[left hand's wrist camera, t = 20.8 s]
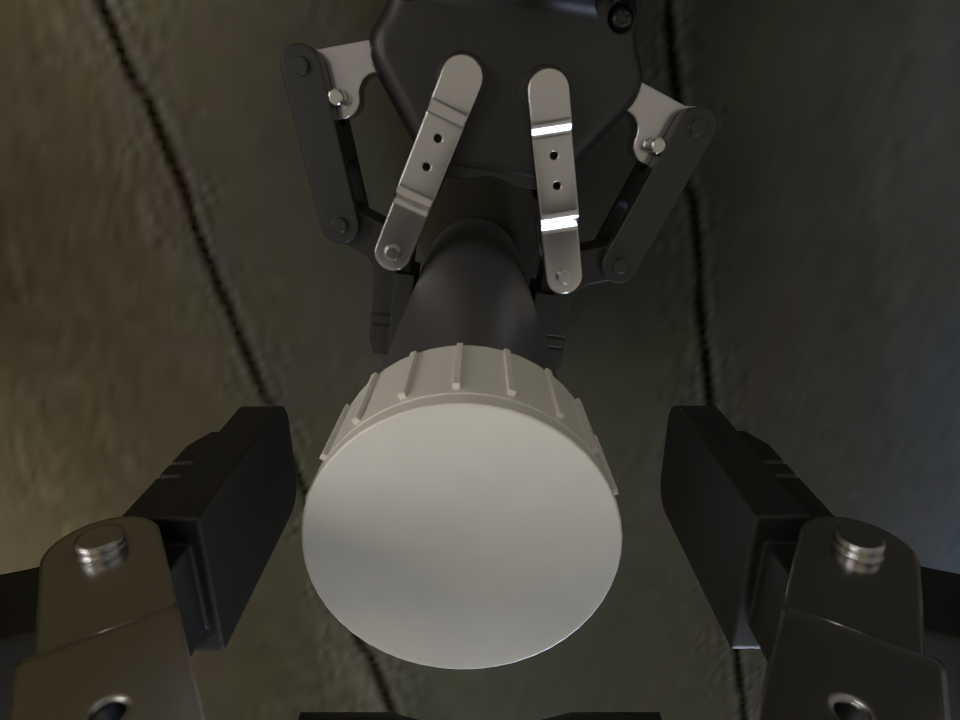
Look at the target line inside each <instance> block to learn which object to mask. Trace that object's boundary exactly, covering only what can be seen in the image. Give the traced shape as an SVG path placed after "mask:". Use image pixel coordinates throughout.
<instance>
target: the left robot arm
mask: <svg viewBox="0 0 960 720" xmlns="http://www.w3.org/2000/svg"><path fill="white" fill-rule="evenodd" d="M661 497H662V503H663V507H664V510H665V513H666V515H667V517H668V519H669V521H670V523H671V525H672V527H673V529H674V531H675V533H676V535H677V538H678V540H679V542H680V544H681V546H682V548H683V550H684V552H685V554H686V556H687V558H688V560H689V562H690V564H691V566H692V568H693V570H694V573H695V575H696V577H697V579H698V581H699V583H700V585H701V587H702V589H703V591H704V593H705V595H706V597H707V599H708V601H709V603H710V606H711V608H712V610H713V612H714V614H715V616H716V618H717V620H718V622H719V624H720V626H721V628H722V630H723V632H724V634H725V636H726V639H727V641H728V643H729V645H730V647H731V649H761V650H762V652H763V654H764V656H765V657H766V659H767V661H768V665H767V670H766V674H765V678H764V682H763V686H762V691H761V695H760V699H759V703H758V707H757V712H756V716H755V720H960V574H956V573H950V572H945V571H940V570H935V569H930V568H925V567H921V566H920V562H919V559H918V558H917V556H916V554H915V553H914V552H913V551H912V549H911V548H910V547H908V546H907V545H906V544H905V543H904V542H903V541H901V540H900V539H898V538H897V537H895V536H894V535H892V534H890V533H889V532H887V531H885V530H883V529H881V528H878V527H876V526H873V525H871V524H868V523H865V522H862V521H858V520H854V519H850V518H844V517H834V516H833V515H832V513H831V512H830V511H829V510H828V509H827V508H826V507H825V506H824V505H823V504H822V503H821V501H820V500H819V499H818V498H817V497H816V496H815V495H814V494H813V493H812V492H811V491H810V489H809V488H808V487H807V486H806V485H805V484H804V483H803V482H802V481H801V480H800V479H799V478H796V474H795V473H794V472H793V471H792V470H791V469H790V468H789V467H788V465H787V464H783V460H782V459H781V458H780V457H779V456H778V455H777V453H776V452H775V451H774V450H773V449H772V448H771V447H770V446H769V445H768V444H766V443H764V442H763V441H761V440H759V439H758V438H756V437H754V436H752V435H751V434H749V433H747V432H745V431H737V430H736V429H735V428H734V427H733V426H732V424H731V423H730V422H729V421H728V420H727V419H726V417H725V416H724V415H723V414H722V413H721V412H720V410H719V409H718V408H717V407H716V406H673V407H672V409H671V411H670V413H669V418H668V425H667V433H666V441H665V449H664V457H663V465H662V473H661ZM295 498H296V475H295V467H294V459H293V451H292V443H291V435H290V427H289V420H288V415H287V412H286V410H285V408H284V407H241V408H239V409H238V411H237V412H236V413H235V414H234V415H233V416H232V417H231V419H230V420H229V421H228V422H227V423H226V424H225V426H224V427H223V428H222V429H221V430H220V431H219V432H211V433H209V434H207V435H206V436H204V437H202V438H200V439H199V440H197V441H195V442H193V443H192V444H190V445H188V446H187V447H186V448H185V449H184V450H183V451H182V452H181V453H180V455H179V456H178V457H177V458H176V459H175V460H174V461H173V465H169V466H168V467H167V469H166V470H165V471H164V472H163V473H162V474H161V475H160V479H156V480H155V481H154V483H153V484H152V485H151V486H150V487H149V488H148V489H147V490H146V491H145V492H144V493H143V494H142V495H141V497H140V498H139V499H138V500H137V501H136V502H135V503H134V504H133V505H132V506H131V507H130V508H129V510H128V511H127V512H126V513H125V514H124V515H123V516H122V517H116V518H110V519H106V520H102V521H98V522H95V523H92V524H89V525H87V526H84V527H82V528H79V529H77V530H75V531H73V532H71V533H70V534H68V535H66V536H65V537H63V538H62V539H60V540H59V541H57V542H56V543H55V544H54V545H53V546H52V547H50V548H49V549H48V551H47V552H46V553H45V554H44V556H43V558H42V559H41V562H40V566H39V567H37V568H32V569H28V570H23V571H18V572H13V573H8V574H3V575H0V720H205V716H204V712H203V707H202V703H201V699H200V695H199V691H198V686H197V682H196V678H195V674H194V670H193V665H192V661H191V656H192V654H193V652H194V650H225V648H226V646H227V644H228V641H229V639H230V637H231V635H232V633H233V631H234V629H235V627H236V625H237V623H238V621H239V619H240V617H241V615H242V613H243V611H244V609H245V607H246V605H247V603H248V601H249V599H250V597H251V595H252V593H253V591H254V589H255V587H256V585H257V583H258V581H259V578H260V576H261V574H262V572H263V570H264V568H265V566H266V564H267V562H268V560H269V558H270V556H271V554H272V552H273V550H274V548H275V546H276V544H277V542H278V540H279V538H280V536H281V534H282V532H283V530H284V528H285V526H286V524H287V522H288V520H289V518H290V515H291V513H292V511H293V508H294V504H295ZM298 720H417V719H413V718H409V717H405V716H401V715H397V714H393V713H389V712H301V713H300V716H299V719H298ZM543 720H662V719H661V716H660V713H659V712H571V713H567V714H563V715H559V716H555V717H551V718H547V719H543Z"/></svg>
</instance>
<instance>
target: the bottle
mask: <svg viewBox="0 0 960 720" xmlns="http://www.w3.org/2000/svg"><path fill="white" fill-rule="evenodd" d="M457 343H463V345H472V346H483V347H490V348H494V349H499V350H503V351H504V348H505V349H509V350H510V352H511V353H512V354H515V355H518V356H521V357H523V358H525V359H527V360H529V361H531V362H533V363H535V364H537V365H538V366H540V367H541V368H543V369H544V370H545V369H546V368H548V369H550V370H551V371H552V374H553V376H554V377H555V378H556V379H557V380H558V377H557V374H556V371H555V368H554V365H553V361H552V358H551V355H550V352H549V349H548V346H547V343H546V340H545V336H544V333H543V330H542V327H541V324H540V321H539V318H538V314H537V311H536V308H535V305H534V302H533V299H532V296H531V292H530V289H529V286H528V283H527V280H526V277H525V274H524V270H523V267H522V264H521V261H520V258H519V255H518V252H517V249H516V246H515V244H514V242H513V240H512V239H511V237H510V236H509V234H508V233H507V232H506V231H505V230H504V229H502V228H501V227H500V226H498V225H497V224H495V223H493V222H491V221H488V220H485V219H479V218H468V219H462V220H459V221H456V222H454V223H452V224H450V225H449V226H447V227H446V228H445V229H443V230H442V231H441V232H440V233H439V235H438V236H437V237H436V239H435V240H434V242H433V244H432V247H431V249H430V251H429V254H428V256H427V259H426V261H425V263H424V266H423V268H422V271H421V273H420V276H419V278H418V280H417V283H416V285H415V288H414V290H413V293H412V295H411V297H410V300H409V302H408V305H407V307H406V309H405V312H404V314H403V317H402V319H401V322H400V324H399V326H398V329H397V331H396V334H395V336H394V338H393V341H392V343H391V346H390V348H389V351H388V353H387V355H386V358H385V360H384V363H383V365H382V368H381V370H380V372H379V373H381V372H382V371H383V370H384V369H386V368H388V367H389V366H391V365H393V364H394V363H396V362H398V361H399V360H402V359H404V358H406V357H409V355H410V353H411V352H413V351H416V352H417V353H419V352H422V351H426V350H429V349H433V348H439V347H446V346H456V345H457ZM558 381H559V380H558Z"/></svg>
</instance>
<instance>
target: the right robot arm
mask: <svg viewBox="0 0 960 720" xmlns="http://www.w3.org/2000/svg"><path fill="white" fill-rule="evenodd" d="M641 1H642V0H387V2H386V5H385V7H384V9H383V11H382V13H381V15H380V17H379V18H378V20H377V21H376V23H375V24H374V26H373V28H372V31H371V34H370V38H369V40H365V41H360V42H355V43H350V44H344V45H339V46H334V47H328V48H323V49H314V48H312V47H310V46H308V45H305V44H302V43H295V44H292V45H290V46H288V47H287V48H286V49H285V50H284V52H283V54H282V56H281V61H280V66H281V71H282V75H283V79H284V83H285V86H286V90H287V94H288V98H289V102H290V106H291V110H292V114H293V118H294V122H295V125H296V129H297V133H298V137H299V141H300V145H301V149H302V153H303V157H304V161H305V164H306V168H307V172H308V176H309V180H310V184H311V188H312V192H313V196H314V200H315V203H316V207H317V211H318V215H319V219H320V223H321V227H322V230H323V232H324V234H325V236H326V237H327V238H328V239H329V240H331V241H332V242H334V243H338V244H347V245H348V246H350V247H352V248H354V249H356V250H358V251H360V252H362V253H364V254H365V255H366V256H367V257H368V258H369V259H370V260H371V262H372V264H373V266H374V270H375V279H374V292H373V304H372V317H371V329H370V341H371V344H372V347H373V351H374V353H380V354H387V353H388V351H389V348H390V346H391V343H392V341H393V338H394V336H395V334H396V331H397V329H398V326H399V324H400V322H401V319H402V317H403V314H404V312H405V309H406V307H407V305H408V302H409V300H410V297H411V295H412V293H413V290H414V288H415V285H416V283H417V280H418V278H419V271H420V262H415V254H416V247H417V245H418V243H419V240H420V238H421V235H422V233H423V231H424V228H425V226H426V223H427V221H428V219H429V216H430V214H431V211H432V209H433V206H434V204H435V202H436V200H437V197H438V195H439V193H440V190H441V188H442V185H443V183H444V181H445V178H446V177H452V178H459V179H474V178H482V177H494V178H496V179H499V180H501V181H503V182H505V183H508V184H510V185H512V186H514V187H521V188H528V189H530V192H531V201H532V209H533V214H534V220H535V228H536V237H537V245H538V254H539V268H538V274H537V279H533V278H530V284H529V289H530V292H531V296H532V299H533V302H534V305H535V308H536V311H537V314H538V318H539V321H540V324H541V327H542V330H543V333H544V336H545V340H546V343H547V346H548V349H549V352H550V355H551V358H552V361H553V365H554V368H555V371H556V370H557V368H558V367H559V365H560V362H561V357H562V352H563V347H564V342H565V337H566V332H567V327H568V322H569V317H570V312H571V307H572V302H573V299H574V297H575V295H576V294H577V292H578V291H579V290H580V289H582V288H583V287H585V286H587V285H590V284H595V283H600V282H604V281H611V282H614V283H623V282H626V281H628V280H630V279H631V278H632V277H633V276H634V275H635V273H636V271H637V270H638V268H639V266H640V264H641V263H642V261H643V259H644V258H645V256H646V254H647V252H648V251H649V249H650V247H651V245H652V244H653V242H654V240H655V238H656V237H657V235H658V233H659V231H660V230H661V228H662V226H663V224H664V223H665V221H666V219H667V217H668V216H669V214H670V212H671V210H672V209H673V207H674V205H675V203H676V202H677V200H678V198H679V196H680V195H681V193H682V191H683V190H684V188H685V186H686V184H687V183H688V181H689V179H690V177H691V176H692V174H693V172H694V170H695V169H696V167H697V165H698V163H699V162H700V160H701V158H702V156H703V155H704V153H705V151H706V149H707V148H708V146H709V144H710V142H711V141H712V139H713V137H714V135H715V133H716V130H717V119H716V117H715V115H714V113H713V112H712V111H711V110H710V109H708V108H706V107H701V106H700V107H694V106H690V107H687V106H684V105H682V104H680V103H679V102H677V101H675V100H673V99H671V98H670V97H668V96H666V95H664V94H662V93H660V92H659V91H657V90H655V89H653V88H651V87H649V86H648V85H646V84H644V83H642V68H641V64H640V60H639V57H638V53H637V47H636V27H637V21H638V16H639V11H640V6H641ZM376 75H377V76H378V78H379V79H380V81H381V83H382V85H383V87H384V89H385V91H386V92H387V94H388V96H389V98H390V100H391V102H392V104H393V106H394V107H395V109H396V111H397V113H398V115H399V117H400V119H401V120H402V122H403V124H404V126H405V128H406V130H407V132H408V133H409V135H410V137H411V139H412V141H413V143H414V145H413V147H412V150H411V152H410V155H409V158H408V160H407V163H406V165H405V168H404V170H403V173H402V176H401V178H400V181H399V183H398V186H397V189H396V192H395V197H394V200H393V202H392V205H391V208H390V210H389V213H388V215H387V217H386V216H384V215H382V214H380V213H378V212H376V211H374V210H372V209H370V208H369V205H368V201H367V196H366V192H365V187H364V183H363V179H362V174H361V170H360V165H359V161H358V156H357V152H356V148H355V143H354V139H353V134H352V130H351V126H350V121H349V119H353V118H355V117H357V116H358V115H359V114H360V113H361V112H362V110H363V108H364V103H365V99H364V90H365V87H366V84H367V83H368V81H369V80H370V79H371V78H373V77H374V76H376ZM624 114H625V115H626V116H627V117H628V118H629V121H630V124H631V134H630V137H629V140H628V144H627V149H628V153H629V155H630V157H631V158H632V159H633V160H634V161H636V164H635V166H634V167H633V169H632V171H631V173H630V175H629V177H628V179H627V180H626V182H625V184H624V186H623V188H622V190H621V192H620V193H619V195H618V197H617V199H616V201H615V203H614V205H613V206H612V208H611V210H610V212H609V214H608V216H607V218H606V219H605V221H604V223H603V225H602V227H601V229H600V231H599V232H598V234H597V236H596V238H595V240H592V241H587V242H583V243H579V235H578V220H579V210H578V198H577V187H576V176H575V164H576V163H577V162H578V161H579V160H580V159H581V158H582V157H583V156H584V155H585V154H586V153H587V152H588V151H589V150H590V149H591V148H592V147H593V146H594V145H595V144H596V143H597V142H598V141H599V139H600V138H601V137H602V136H603V135H604V134H605V133H606V132H607V131H608V130H609V129H610V128H611V127H612V126H613V125H614V124H615V123H616V122H617V121H618V120H619V119H620V118H621V117H622V116H623V115H624Z"/></svg>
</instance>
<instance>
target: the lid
mask: <svg viewBox="0 0 960 720" xmlns="http://www.w3.org/2000/svg"><path fill="white" fill-rule="evenodd" d="M319 459H321V460H323V461H322V463H321V465H320V468H319V470H318V472H317V474H316V476H315V478H314V480H313V482H312V484H311V486H310V489H309V491H308V493H307V495H306V498H305V502H306V504H305V507H304V512H303V519H302V525H301V543H302V549H303V555H304V561H305V565H306V568H307V571H308V574H309V577H310V579H311V581H312V583H313V585H314V587H315V589H316V591H317V593H318V595H319V596H320V598H321V599H322V601H323V602H324V604H325V605H326V607H327V608H328V609H329V610H330V611H331V613H332V614H333V615H334V616H335V617H336V618H337V619H338V620H339V621H340V622H341V623H342V624H343V625H344V626H345V627H346V628H348V629H349V630H350V631H351V632H352V633H353V634H355V635H356V636H358V637H359V638H361V639H362V640H364V641H365V642H367V643H368V644H370V645H372V646H374V647H376V648H378V649H379V650H381V651H383V652H385V653H388V654H390V655H393V656H395V657H398V658H400V659H403V660H407V661H410V662H414V663H417V664H421V665H427V666H432V667H438V668H450V669H479V668H487V667H495V666H500V665H504V664H509V663H513V662H517V661H520V660H523V659H525V658H528V657H531V656H534V655H536V654H538V653H540V652H542V651H545V650H547V649H549V648H551V647H552V646H554V645H556V644H557V643H559V642H561V641H562V640H564V639H565V638H567V637H568V636H569V635H571V634H572V633H573V632H574V631H576V630H577V629H578V628H579V627H580V626H581V625H582V624H583V623H584V622H585V621H586V620H587V619H588V618H589V617H590V616H591V615H592V614H593V613H594V612H595V610H596V609H597V608H598V606H599V605H600V604H601V602H602V601H603V599H604V598H605V596H606V594H607V592H608V591H609V589H610V587H611V585H612V582H613V580H614V577H615V574H616V572H617V569H618V565H619V560H620V556H621V549H622V525H621V516H620V513H619V509H618V505H617V501H616V498H615V495H618V490H617V487H616V484H615V482H614V479H613V476H612V474H611V471H610V469H609V466H608V464H607V461H606V458H605V456H604V453H603V451H602V448H601V445H600V443H599V440H598V438H597V435H594V434H593V431H592V428H591V426H590V423H589V420H588V418H587V415H586V413H585V410H584V407H583V405H582V402H581V400H580V399H579V398H577V399H574V397H573V396H572V395H571V394H570V393H569V391H568V390H567V389H566V388H565V387H564V386H563V385H562V384H561V383H560V382H559V381H558V380H557V379H556V378H555V377H554V376H553V374H552V371H551V370H550V369H548V368H546V369H545V370H544V369H543V368H541V367H540V366H538V365H537V364H535V363H533V362H531V361H529V360H527V359H525V358H523V357H521V356H518V355H515V354H512V353H511V352H510V350H509V349H505V348H504V351H503V350H499V349H494V348H490V347H483V346H472V345H463V343H457V345H456V346H446V347H439V348H433V349H429V350H426V351H422V352H419V353H417V352H416V351H413V352H411V353H410V355H409V357H406V358H404V359H402V360H399V361H398V362H396V363H394V364H393V365H391V366H389V367H388V368H386V369H384V370H383V371H382V372H381V373H379V374H377V373H376V372H375V373H373V374H372V375H371V377H370V379H369V382H368V384H367V385H366V386H365V387H364V388H363V389H362V390H361V391H360V393H359V394H358V395H357V397H356V398H355V400H354V401H353V402H352V404H351V405H348V404H346V405H345V407H344V409H343V411H342V413H341V415H340V417H339V419H338V421H337V423H336V425H335V427H334V429H333V431H332V433H331V435H330V437H329V439H328V441H327V443H326V446H325V448H324V450H323V452H322V454H321V456H320V458H319Z"/></svg>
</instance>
